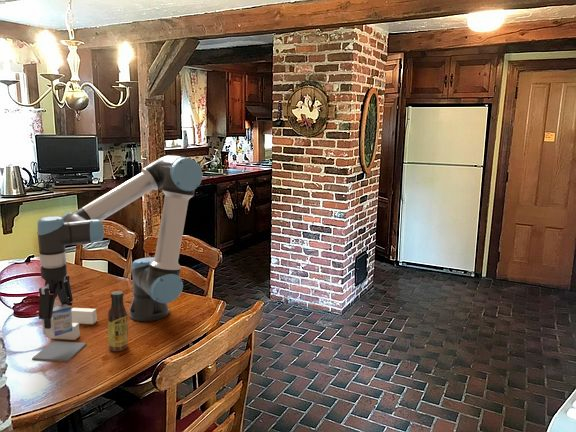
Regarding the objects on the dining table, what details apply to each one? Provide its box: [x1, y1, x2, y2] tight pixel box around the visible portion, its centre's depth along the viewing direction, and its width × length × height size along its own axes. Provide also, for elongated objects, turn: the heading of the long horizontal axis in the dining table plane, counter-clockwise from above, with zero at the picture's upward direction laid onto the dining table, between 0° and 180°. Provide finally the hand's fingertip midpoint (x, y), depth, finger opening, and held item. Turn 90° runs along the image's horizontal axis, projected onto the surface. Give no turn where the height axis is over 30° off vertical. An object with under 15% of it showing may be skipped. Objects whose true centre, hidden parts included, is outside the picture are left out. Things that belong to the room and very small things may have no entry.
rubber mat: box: [31, 340, 87, 363], centre depth 158 cm, size 12×12×1 cm
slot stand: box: [50, 307, 98, 341], centre depth 174 cm, size 9×16×5 cm, turn 176°
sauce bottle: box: [107, 290, 129, 352], centre depth 159 cm, size 6×6×20 cm
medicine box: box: [41, 304, 73, 339], centre depth 155 cm, size 8×4×9 cm, turn 137°
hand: (58, 330), depth 156 cm, fingers closed on medicine box, 9 cm apart
